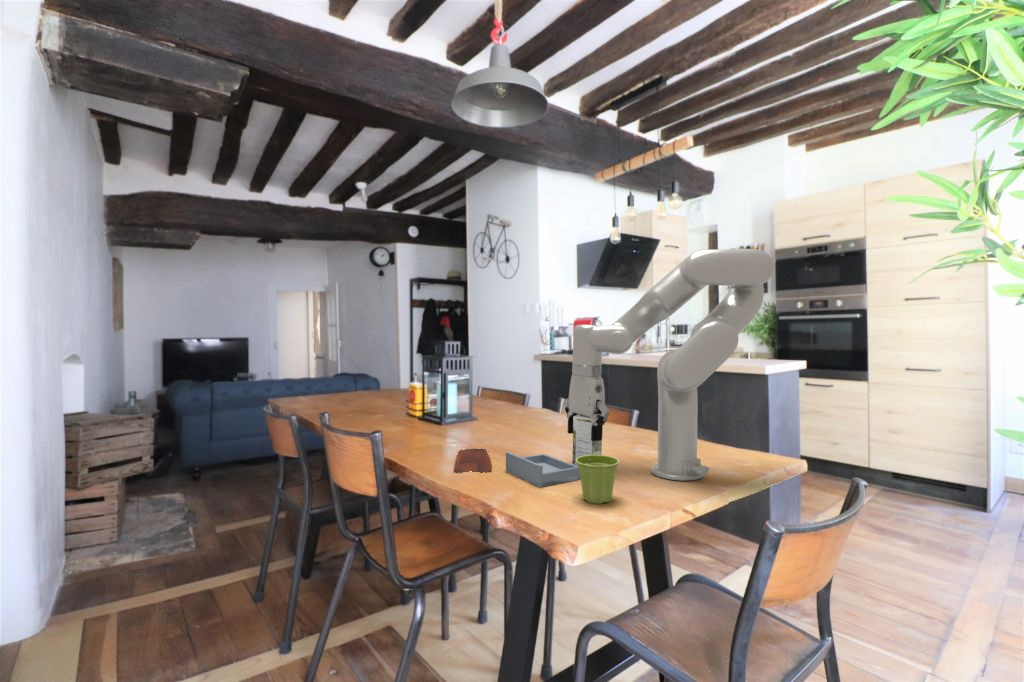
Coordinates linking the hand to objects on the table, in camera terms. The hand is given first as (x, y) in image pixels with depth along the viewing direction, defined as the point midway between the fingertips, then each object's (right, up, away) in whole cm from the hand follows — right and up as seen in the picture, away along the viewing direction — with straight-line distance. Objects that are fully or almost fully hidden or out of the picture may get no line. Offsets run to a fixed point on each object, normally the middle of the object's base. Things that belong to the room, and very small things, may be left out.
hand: (584, 436), depth 134 cm
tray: (-11, -9, -5) cm, 15 cm away
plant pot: (0, -10, -23) cm, 25 cm away
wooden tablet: (-30, -9, +11) cm, 33 cm away
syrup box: (+1, -9, 0) cm, 9 cm away
